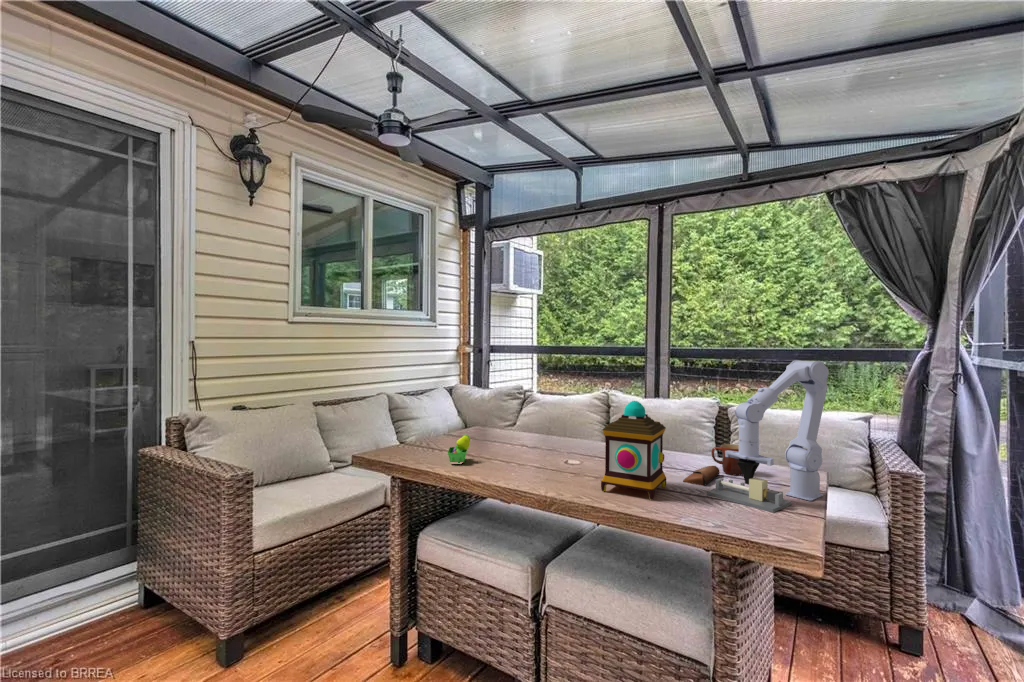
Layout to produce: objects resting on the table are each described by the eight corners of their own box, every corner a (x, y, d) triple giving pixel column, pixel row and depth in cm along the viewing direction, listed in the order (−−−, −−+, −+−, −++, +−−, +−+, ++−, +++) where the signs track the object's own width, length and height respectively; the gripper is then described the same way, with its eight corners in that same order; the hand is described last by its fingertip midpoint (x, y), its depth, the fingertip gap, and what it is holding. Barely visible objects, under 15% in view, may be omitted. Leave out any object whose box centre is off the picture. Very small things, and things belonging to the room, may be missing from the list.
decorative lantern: (656, 503, 148) (656, 406, 148) (595, 492, 159) (596, 401, 159) (671, 486, 165) (671, 399, 166) (615, 477, 176) (616, 396, 176)
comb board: (706, 494, 157) (706, 480, 157) (725, 487, 164) (726, 474, 164) (773, 512, 140) (773, 497, 140) (791, 504, 148) (791, 490, 148)
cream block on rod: (748, 497, 150) (749, 479, 150) (754, 495, 153) (754, 477, 153) (761, 501, 147) (762, 482, 147) (767, 499, 149) (767, 480, 149)
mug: (744, 471, 186) (744, 445, 186) (747, 477, 177) (747, 449, 177) (710, 468, 190) (710, 442, 190) (712, 474, 181) (712, 447, 181)
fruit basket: (449, 458, 203) (449, 432, 203) (470, 458, 203) (470, 432, 203) (447, 465, 191) (447, 437, 191) (469, 465, 192) (469, 437, 192)
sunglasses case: (696, 471, 185) (705, 457, 183) (712, 483, 182) (722, 469, 180) (681, 481, 171) (691, 467, 169) (698, 495, 167) (709, 480, 165)
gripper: (720, 438, 156) (720, 480, 156) (766, 446, 144) (765, 491, 144) (731, 436, 160) (731, 476, 160) (776, 443, 148) (776, 487, 148)
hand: (748, 483), depth 152 cm, fingers closed
